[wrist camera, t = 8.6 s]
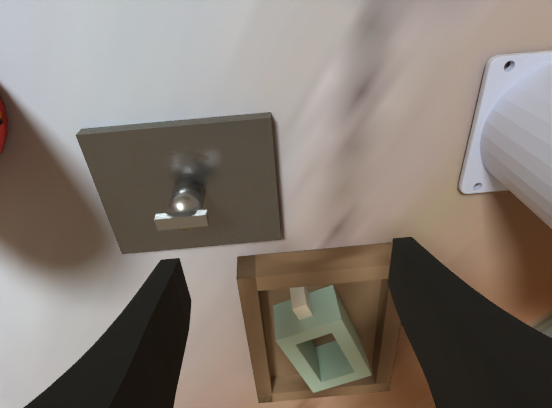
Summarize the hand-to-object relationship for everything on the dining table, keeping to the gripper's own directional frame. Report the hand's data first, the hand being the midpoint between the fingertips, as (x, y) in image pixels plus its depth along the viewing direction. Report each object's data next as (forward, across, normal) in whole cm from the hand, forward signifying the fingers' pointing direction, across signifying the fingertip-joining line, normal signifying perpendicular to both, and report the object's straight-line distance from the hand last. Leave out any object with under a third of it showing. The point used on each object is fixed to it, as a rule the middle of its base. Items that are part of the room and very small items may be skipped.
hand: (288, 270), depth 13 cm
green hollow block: (+9, -2, +15) cm, 18 cm away
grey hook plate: (+10, +5, +2) cm, 11 cm away
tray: (+10, -2, +15) cm, 18 cm away
